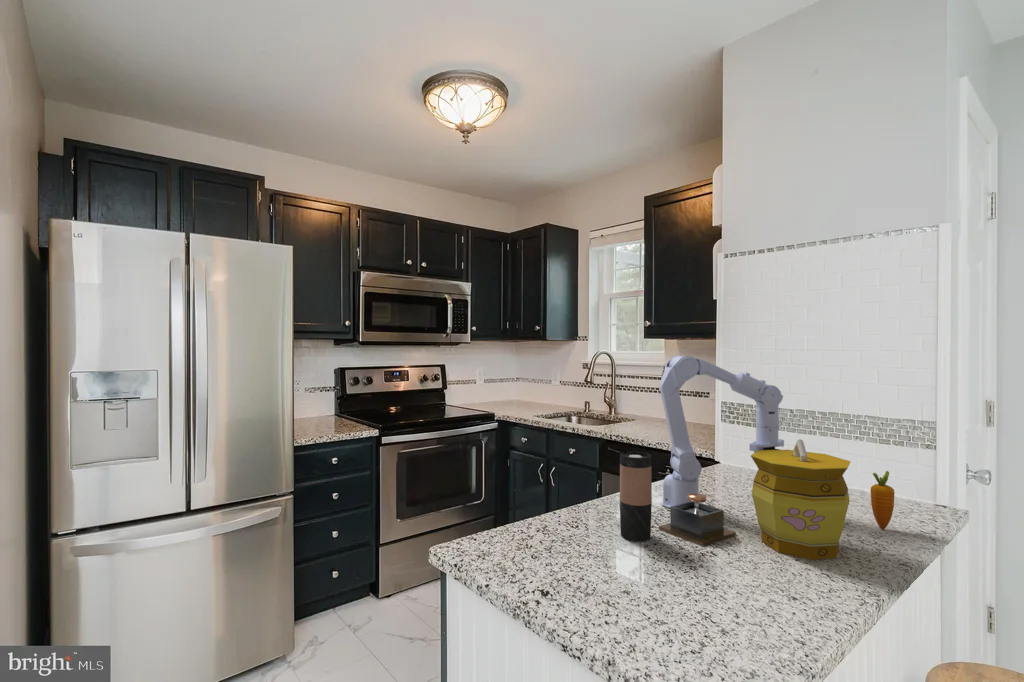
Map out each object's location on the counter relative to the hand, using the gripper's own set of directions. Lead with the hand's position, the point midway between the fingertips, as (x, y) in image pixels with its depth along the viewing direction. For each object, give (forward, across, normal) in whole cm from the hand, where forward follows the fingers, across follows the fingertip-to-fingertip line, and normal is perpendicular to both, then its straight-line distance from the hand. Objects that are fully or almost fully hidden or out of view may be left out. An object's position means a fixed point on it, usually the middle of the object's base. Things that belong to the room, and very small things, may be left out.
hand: (767, 473), depth 143 cm
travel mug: (+11, -47, +7) cm, 48 cm away
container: (+11, -19, -18) cm, 28 cm away
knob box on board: (+10, -32, 0) cm, 33 cm away
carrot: (+10, +10, -25) cm, 29 cm away
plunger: (+6, -32, 0) cm, 32 cm away
